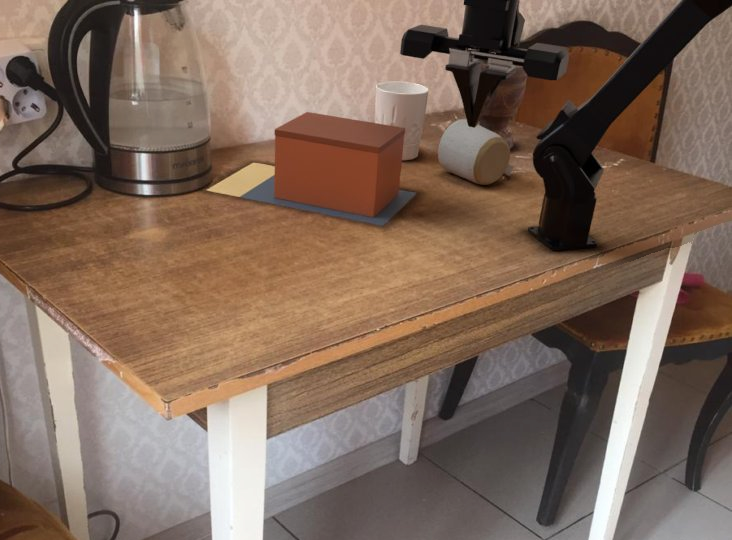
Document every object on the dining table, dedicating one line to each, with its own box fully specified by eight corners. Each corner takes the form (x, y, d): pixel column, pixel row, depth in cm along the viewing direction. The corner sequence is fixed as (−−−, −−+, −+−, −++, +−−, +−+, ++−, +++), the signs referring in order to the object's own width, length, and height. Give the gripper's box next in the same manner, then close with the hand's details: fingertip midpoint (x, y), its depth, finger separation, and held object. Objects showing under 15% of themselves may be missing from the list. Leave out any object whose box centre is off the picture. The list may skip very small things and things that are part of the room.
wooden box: (399, 194, 118) (405, 127, 113) (373, 217, 110) (379, 147, 105) (304, 176, 122) (306, 111, 117) (273, 197, 114) (274, 129, 109)
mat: (416, 194, 119) (417, 192, 119) (383, 227, 108) (383, 225, 108) (253, 163, 126) (253, 162, 126) (205, 191, 115) (205, 190, 115)
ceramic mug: (473, 191, 121) (482, 135, 117) (433, 174, 126) (440, 120, 122) (524, 181, 126) (534, 128, 122) (484, 165, 132) (492, 113, 128)
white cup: (431, 156, 134) (439, 89, 128) (399, 165, 129) (406, 96, 123) (393, 143, 138) (398, 78, 133) (360, 152, 133) (364, 85, 128)
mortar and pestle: (486, 160, 134) (506, 21, 123) (441, 147, 138) (457, 12, 128) (525, 146, 141) (547, 15, 131) (481, 134, 146) (499, 6, 135)
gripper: (591, -11, 100) (562, 125, 108) (438, -31, 106) (422, 99, 114) (571, 0, 91) (542, 147, 99) (406, -23, 97) (391, 118, 105)
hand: (472, 126), depth 105 cm, fingers closed
